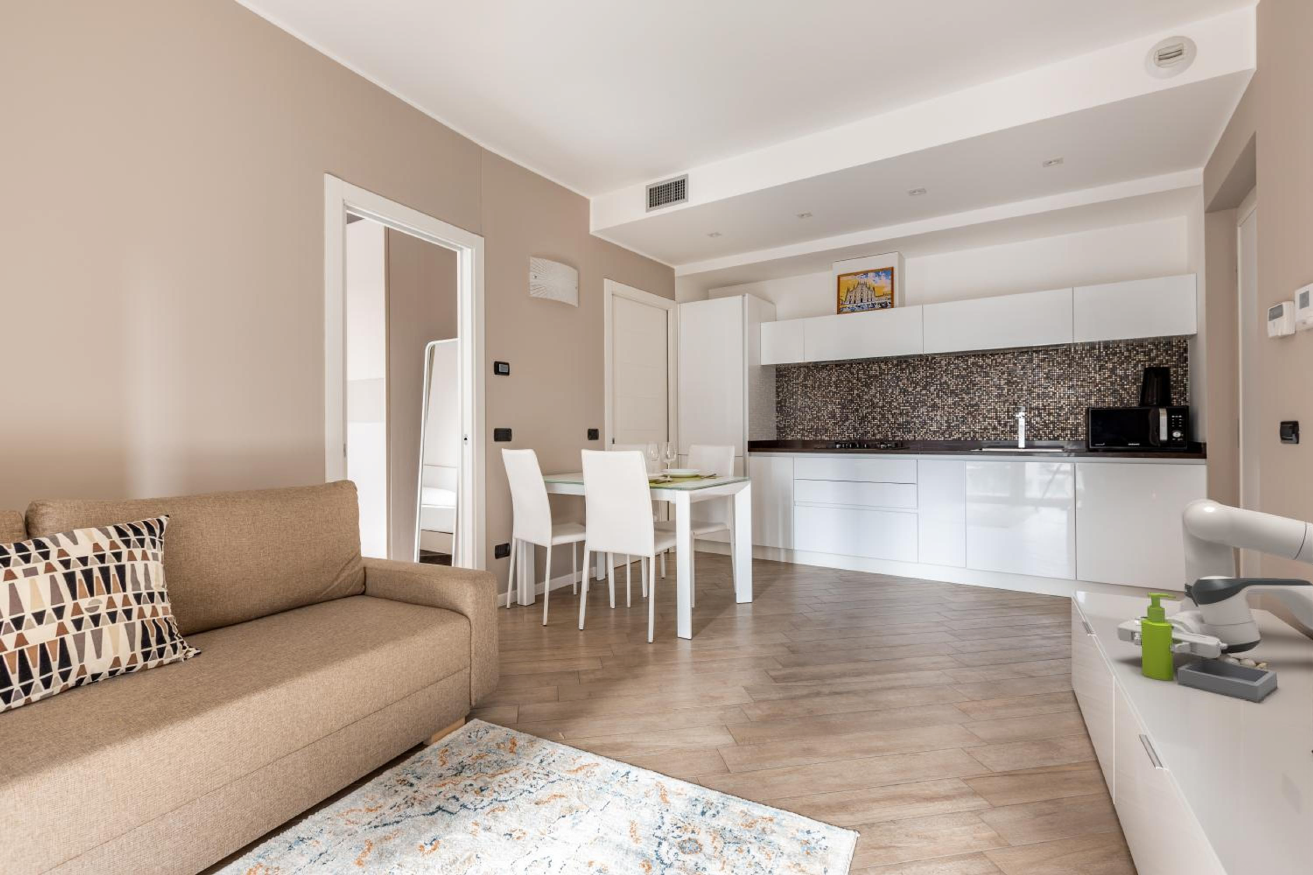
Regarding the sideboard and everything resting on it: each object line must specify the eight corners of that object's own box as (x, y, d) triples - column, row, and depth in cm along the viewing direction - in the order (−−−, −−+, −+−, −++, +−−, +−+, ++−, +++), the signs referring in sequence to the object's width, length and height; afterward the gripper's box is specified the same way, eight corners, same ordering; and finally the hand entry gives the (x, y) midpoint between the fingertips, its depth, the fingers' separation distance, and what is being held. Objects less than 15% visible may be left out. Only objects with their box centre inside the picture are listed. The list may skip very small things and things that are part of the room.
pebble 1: (1219, 662, 159) (1219, 650, 160) (1235, 665, 157) (1234, 653, 157) (1215, 665, 158) (1215, 653, 158) (1231, 668, 155) (1230, 656, 155)
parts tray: (1214, 662, 161) (1213, 653, 161) (1267, 673, 153) (1266, 663, 153) (1202, 669, 157) (1202, 659, 157) (1256, 680, 149) (1256, 670, 149)
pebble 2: (1226, 667, 156) (1225, 655, 156) (1242, 670, 154) (1241, 658, 154) (1222, 669, 155) (1221, 657, 155) (1238, 673, 152) (1237, 660, 152)
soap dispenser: (1183, 681, 150) (1181, 597, 150) (1150, 679, 151) (1148, 596, 152) (1169, 672, 156) (1166, 591, 156) (1137, 670, 157) (1135, 590, 157)
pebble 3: (1241, 667, 156) (1241, 655, 156) (1258, 671, 153) (1257, 658, 153) (1237, 670, 154) (1237, 658, 154) (1254, 673, 151) (1253, 661, 151)
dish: (1199, 671, 156) (1199, 656, 156) (1277, 687, 144) (1276, 671, 144) (1178, 684, 148) (1177, 668, 148) (1258, 702, 136) (1257, 686, 137)
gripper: (1231, 657, 152) (1210, 670, 144) (1131, 638, 169) (1108, 648, 162) (1229, 631, 152) (1209, 642, 145) (1130, 614, 169) (1107, 623, 162)
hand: (1155, 645), depth 153 cm, fingers closed on soap dispenser, 6 cm apart
